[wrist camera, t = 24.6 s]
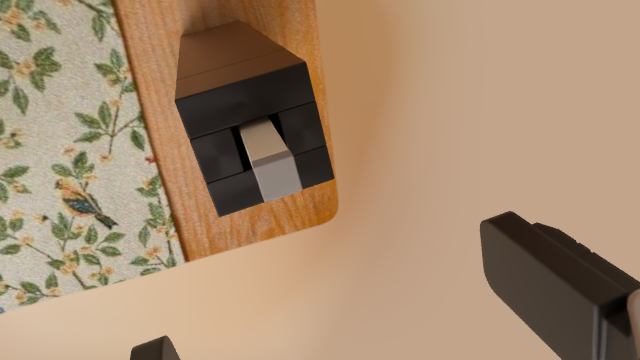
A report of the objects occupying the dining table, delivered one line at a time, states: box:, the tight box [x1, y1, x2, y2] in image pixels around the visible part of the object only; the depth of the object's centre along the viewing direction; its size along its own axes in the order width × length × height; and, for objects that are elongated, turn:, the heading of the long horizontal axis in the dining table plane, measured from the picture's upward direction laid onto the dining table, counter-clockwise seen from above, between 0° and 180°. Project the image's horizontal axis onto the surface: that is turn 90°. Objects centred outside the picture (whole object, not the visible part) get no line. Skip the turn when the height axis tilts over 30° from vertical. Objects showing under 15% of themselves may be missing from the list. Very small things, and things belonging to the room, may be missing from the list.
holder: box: [175, 20, 334, 217], centre depth 37 cm, size 6×6×30 cm
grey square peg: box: [237, 116, 302, 203], centre depth 23 cm, size 2×2×10 cm
